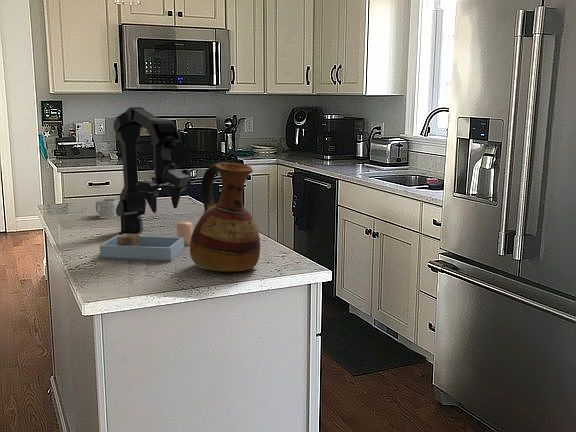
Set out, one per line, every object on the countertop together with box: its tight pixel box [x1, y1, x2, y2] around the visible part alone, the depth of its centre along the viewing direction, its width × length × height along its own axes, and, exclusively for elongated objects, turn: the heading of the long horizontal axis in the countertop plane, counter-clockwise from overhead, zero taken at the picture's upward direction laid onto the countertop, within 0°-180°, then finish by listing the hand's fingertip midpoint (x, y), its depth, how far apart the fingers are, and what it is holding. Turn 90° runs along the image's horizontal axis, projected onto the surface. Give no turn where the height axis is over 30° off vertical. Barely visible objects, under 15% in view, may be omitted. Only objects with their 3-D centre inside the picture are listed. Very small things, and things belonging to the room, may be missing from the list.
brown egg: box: [176, 220, 194, 247], centre depth 205 cm, size 5×5×7 cm
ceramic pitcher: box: [189, 161, 261, 273], centre depth 176 cm, size 20×20×30 cm
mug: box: [95, 198, 118, 218], centre depth 247 cm, size 10×7×7 cm
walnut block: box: [117, 233, 140, 246], centre depth 193 cm, size 5×5×5 cm
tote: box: [99, 234, 185, 262], centre depth 193 cm, size 22×14×4 cm, turn 83°
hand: (165, 210), depth 199 cm, fingers open, 9 cm apart
